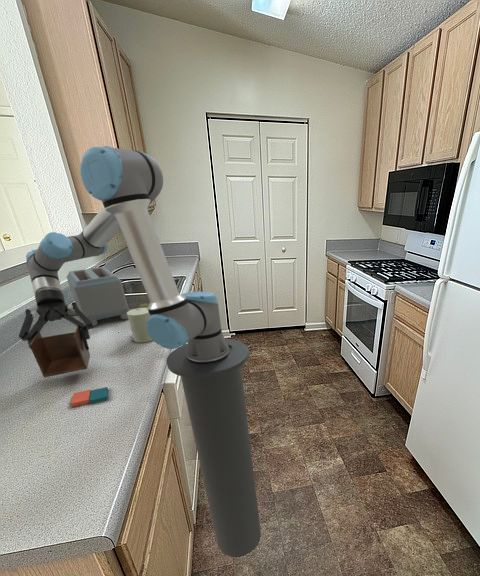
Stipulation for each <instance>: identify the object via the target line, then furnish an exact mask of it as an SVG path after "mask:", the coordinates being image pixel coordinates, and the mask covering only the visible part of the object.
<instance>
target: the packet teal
mask: <svg viewBox="0 0 480 576" xmlns="http://www.w3.org/2000/svg"><path fill="white" fill-rule="evenodd" d="M90 390H91V389H90ZM108 400H109V388H108V386H105V387H100V388H96V389H92V390H91V393H90V400H89V401H90V403H89V404H91V405H92V404H96V403H101V402H105V401H108Z"/></svg>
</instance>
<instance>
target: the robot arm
mask: <svg viewBox="0 0 480 576" xmlns="http://www.w3.org/2000/svg"><path fill="white" fill-rule="evenodd" d="M79 172H80V178H81V182H82V184H83V186H84V188H85V190H86V192H87V193H88V194H89V195H91V196H92V197H93V198H94V199H96V200H99V201H100V202H101V203H102V208H101V209H100V210H99V211H98V212H97V213H96V215H94V217H93V218H92V219H91V221H90V222H89V223H88V224H87V225H86V227H85V228H84V229H83V230H82V231H81V232H80V233H79V234H76V235H75V234H74V235H70V236H66V235H65V234H63V233H59V232H56V231H51V232H48V233H47V234H45V236H44V237H43V238H42V239H41V241H40V243H39V244H38V247H37V249H32V250H31V251H28V252H27V253H26V254H25V260H26V266H27V269H28V273H29V277H30V281H31V286H32V290H33V295H34V299H35V301H36V302H35V303H36V307H37V308H36V309H29V308H26V309H25V317H24V320H23V323H22V325H21V328H20V331H19V334H18V337H19V339H20V340H21V341H23V342H25V341H27V345H28V347H29V349H30V350H31V348H30V343H31V341H32V340H33V338H34V337H35V335H36V334H37V332H40V333H41V331H42V329H43V328H44V326H45V325H47V323H48V322H54V321H61V320H62V319H64V320H66V321H67V322H69V323H71V324H72V325H74V326H76V327H77V326H80V328H81V329H80V331H81V335H82V338H83V342H84V346H85V348H86V350H90V347H89V344H88V343H89V342H88V340H90V339H91V336H90V332H89V331H90V329H93V328H94V326H93V324H92V322H91V321H90V320H89V319H88V318H87V317H86V316H85V315H84V314H83V313H82V312H81V311H80V310H79V309H78V307H77V304H76V303H75V301H73V302H71V304H67V303H66V301H65V297H64V294H63V289H62V286H61V282H60V278H59V271H60V269H62V267H63V265H64V264H65V263H68V262H73V261H78V260H82V259H87V258H92V257H99V256H101V255H103V254H106V253H107V251H108V248H109V244H108V243H109V242H110V241H111V240H112V239H114V237H115V236H116V234H118V233H119V232H120V233H121V234H122V237H123V240H124V242H125V244H126V247H127V249H128V252H129V254H130V256H131V259H132V261H133V264H134V267H135V268H136V271H137V274H138V276H139V278H140V280H141V283H142V286H143V288H144V290H145V293H146V295H147V298H148V300H149V303H148V304H149V306H148V308H147V309H148V312H149V314H150V316H151V317H150V318H149V319H148V320H147V324H146V328H147V331H148V334H149V335H150V337H151V338H152V339H153V340H152V341H153V342H155V344H156V345H159V346H160V347H162V348H164V349H168V350H175V349H177V348H179V347H181V346H183V345H185V344H187V351H186V355H187V359H188V360H189V361H190V362H193V363H197V364H208V363H214V362H217V361H220V360H222V359H224V358H226V357H227V356H228V355H229V353H230V351H229V347H230V348H232V346H231V345H229V344H227V342H226V340H225V336H224V334H223V331H222V324H221V316H220V310H219V309H220V308H219V302H218V297H217V295H216V294H215V293H213V292H209V291H189V292H183V293H180V292H179V289H178V286H177V284H176V281H175V279H174V275H173V273H172V271H171V268H170V266H169V263H168V259H167V258H166V254H165V252H164V250H163V247H162V244H161V242H160V239H159V236H158V234H157V231H156V228H155V226H154V224H153V220H152V218H151V215H150V212H149V206H150V205H151V204H152V203H153V202H154V201H155V200H156V199H157V197H158V196H159V195H160V194H161V191H162V190H163V187H164V176H163V175H164V174H163V172H162V169H161V167H160V165H159V163H158V162H157V161H156V160H155V159H154V157H152V156H151V155H149V154H148V153H146V152H144V151H140V150H138V149H137V150H136V149H127V148H118V147H112V146H107V145H105V146H93V147H90V148H88V149H87V150H86V151H85V152H84V153H83V155H82V158H81V163H80V165H79ZM69 310H70V311H72V312H74V313H75V314H76V315H77V316H78V317H79V318H80V319H81V320H82V321H83V322H84V323H83V322H82V321H80V320H78V319H77V318H75V317H74V316H72V315H71V314H69V313H68V312H69ZM36 315H38V318H37V320H36V322H35V323H34V324H33V322H34V318H36ZM32 325H33V326H32Z"/></svg>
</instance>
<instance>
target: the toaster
mask: <svg viewBox="0 0 480 576" xmlns="http://www.w3.org/2000/svg"><path fill="white" fill-rule="evenodd" d="M66 279H67V282H68V285H69V288H70V291H71V295H72V297H73V300H74V302H75V303H76V304H77V307H78V309H79V310H80V311H81V312H82V313H83V314H84V315H85V316H86V317H87V318H88V319H89V320H90V321H91V322H92V324H93V326H94V327H96V326H97V325H98V321H101V320H104V319H109V318H113V317H119V318H120V319H122V320H125V321H127V320H129V319H128V316H127V312H128V311H130V308H129V305H128V300H127V298H126V294H125V290H124V287H123V283H122V282H123V281H122V279H120V278H119V277H118V276H116V275H115V274H114V273H112V272H111V271H110V270H109V269H107V268H106V267H105V266H97V267H92V268H84V269H78V270H77V269H76V270H69V272H68V274H67V275H66ZM94 327H93V328H94Z"/></svg>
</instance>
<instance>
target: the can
mask: <svg viewBox="0 0 480 576" xmlns="http://www.w3.org/2000/svg"><path fill="white" fill-rule="evenodd" d="M127 316H128V319H127V320H128V322H129V325H130V330H131V333H132V337H133V342H135V343H149V342H152V341H153V339H152V338H151V337H150V335H149V334H148V331H147V328H146V324H147V320H148V319H149V318H150V317H151V316H150V314H149V312H148V309H147V308H139V307H138V308H137V307H136V308H133V309H129V311H128V312H127Z"/></svg>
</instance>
